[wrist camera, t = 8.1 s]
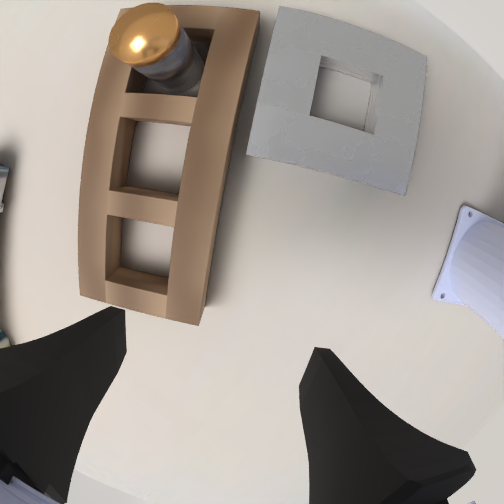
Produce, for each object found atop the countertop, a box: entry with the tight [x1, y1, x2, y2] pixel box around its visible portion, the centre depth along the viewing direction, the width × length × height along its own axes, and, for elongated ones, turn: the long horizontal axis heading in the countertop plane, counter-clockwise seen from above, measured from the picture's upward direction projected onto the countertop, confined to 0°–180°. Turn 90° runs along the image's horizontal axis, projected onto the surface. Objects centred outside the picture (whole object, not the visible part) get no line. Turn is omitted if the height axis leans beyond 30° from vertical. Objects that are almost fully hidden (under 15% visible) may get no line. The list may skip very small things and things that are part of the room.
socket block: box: [246, 6, 427, 196], centre depth 15 cm, size 10×10×2 cm
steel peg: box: [109, 3, 204, 92], centre depth 12 cm, size 3×3×7 cm
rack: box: [78, 5, 260, 326], centre depth 16 cm, size 9×20×2 cm, turn 169°
